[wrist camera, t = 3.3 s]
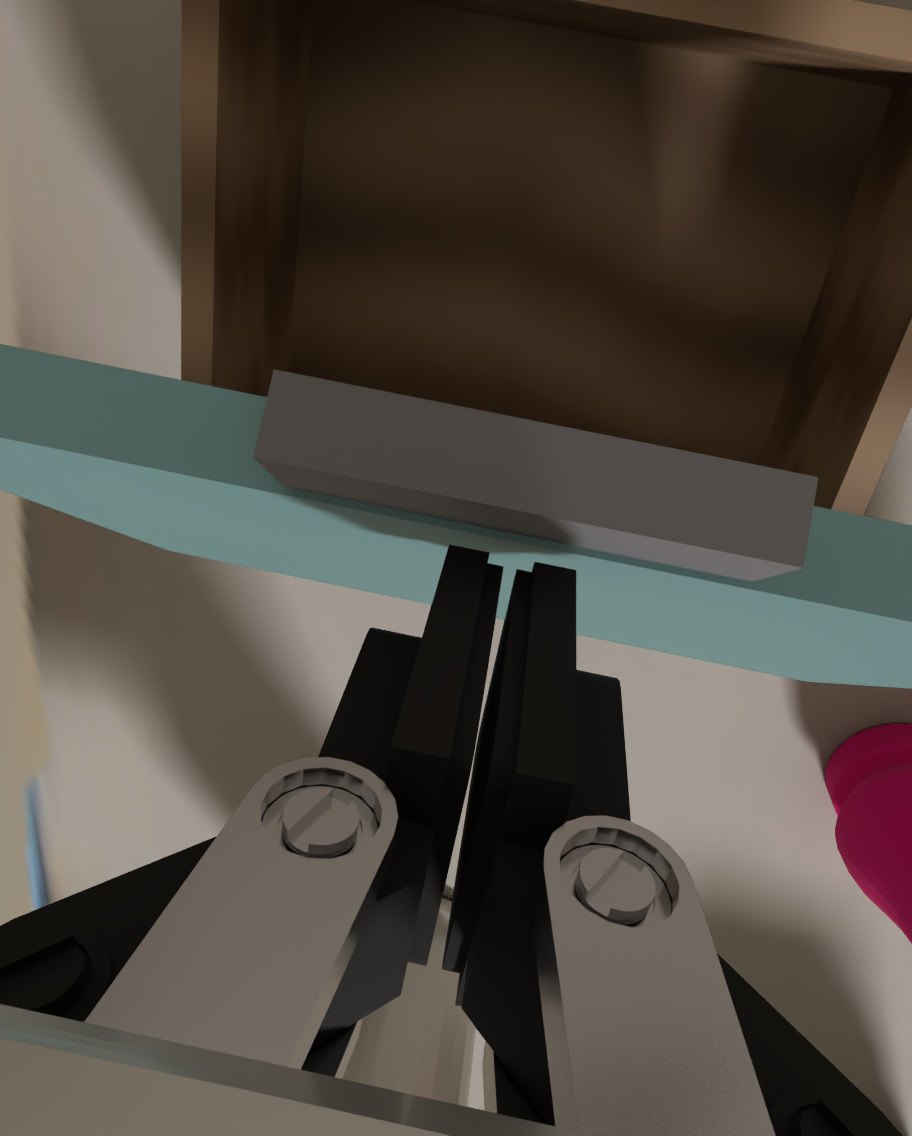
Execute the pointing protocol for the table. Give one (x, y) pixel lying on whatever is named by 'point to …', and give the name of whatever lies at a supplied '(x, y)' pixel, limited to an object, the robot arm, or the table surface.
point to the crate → (564, 215)
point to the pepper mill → (876, 815)
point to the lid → (468, 510)
